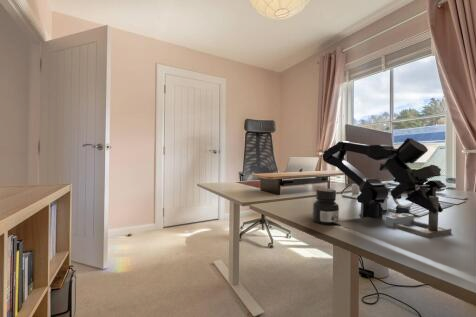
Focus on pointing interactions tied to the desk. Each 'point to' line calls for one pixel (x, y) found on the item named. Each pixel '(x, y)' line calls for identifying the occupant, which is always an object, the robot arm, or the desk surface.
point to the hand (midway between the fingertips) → (438, 212)
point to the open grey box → (422, 233)
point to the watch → (402, 207)
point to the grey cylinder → (433, 217)
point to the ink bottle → (325, 207)
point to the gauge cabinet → (399, 219)
